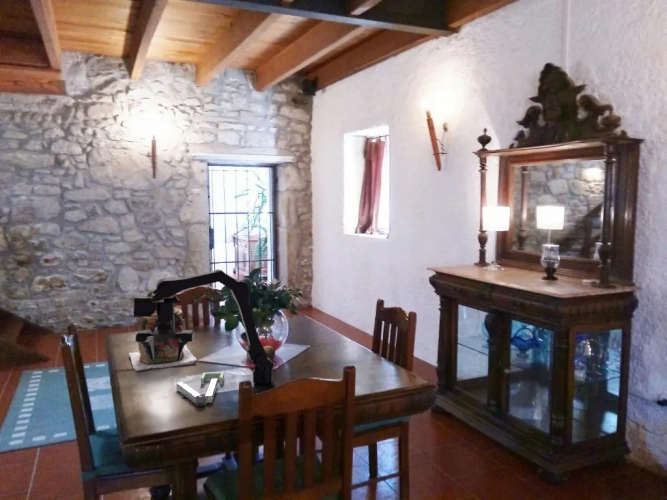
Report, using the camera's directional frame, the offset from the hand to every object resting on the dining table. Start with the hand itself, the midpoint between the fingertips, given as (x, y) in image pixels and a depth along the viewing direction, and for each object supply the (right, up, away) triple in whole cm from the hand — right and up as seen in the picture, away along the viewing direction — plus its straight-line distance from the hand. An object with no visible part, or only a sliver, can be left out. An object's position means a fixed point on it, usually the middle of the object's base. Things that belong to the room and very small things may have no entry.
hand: (165, 360), depth 183 cm
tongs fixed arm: (+15, -12, +2) cm, 20 cm away
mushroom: (+29, -9, +41) cm, 51 cm away
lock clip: (+13, -11, +14) cm, 22 cm away
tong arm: (+9, -12, -2) cm, 15 cm away
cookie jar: (-14, -9, +40) cm, 44 cm away
